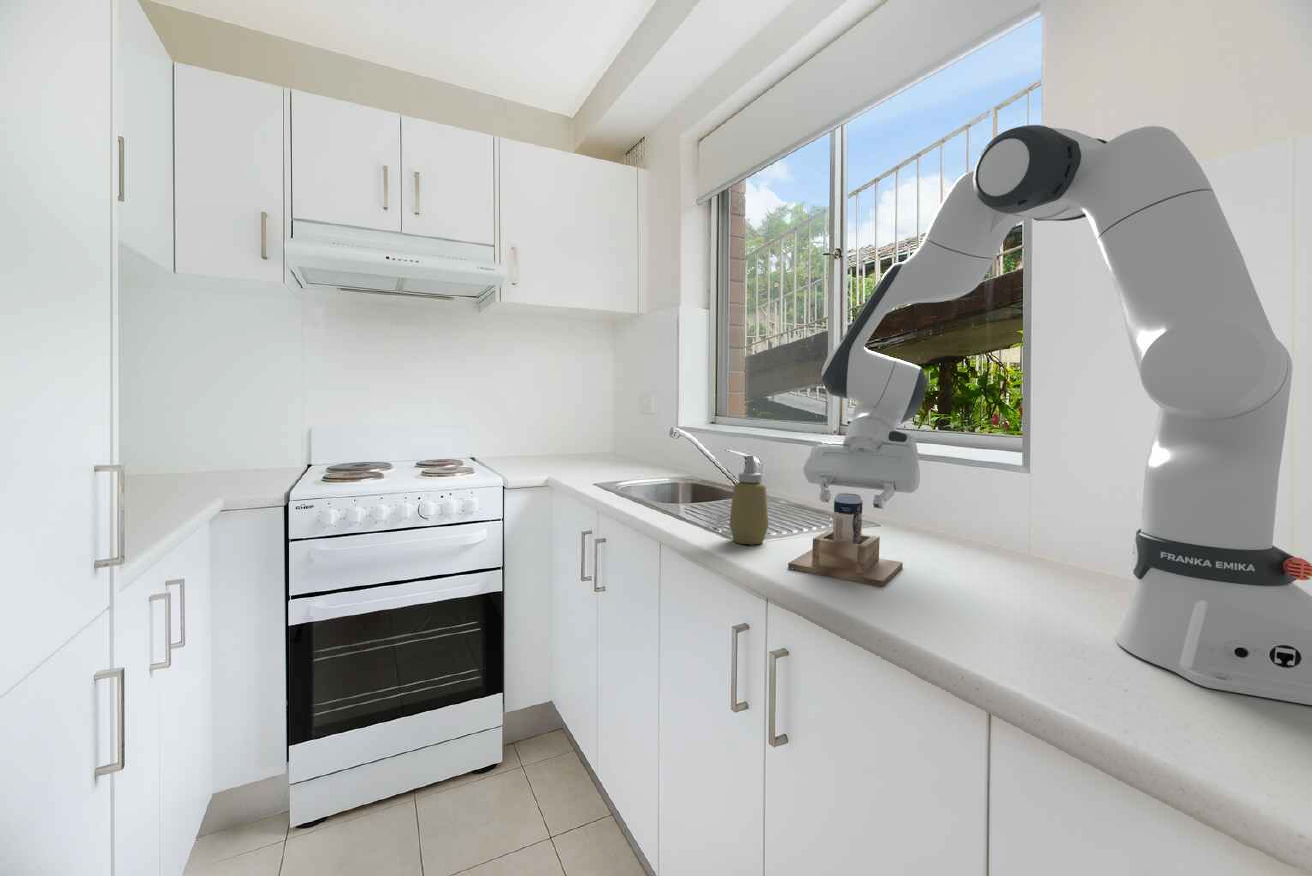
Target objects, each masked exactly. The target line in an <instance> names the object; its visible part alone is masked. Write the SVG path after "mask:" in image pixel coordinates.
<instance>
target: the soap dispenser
mask: <svg viewBox="0 0 1312 876" xmlns="http://www.w3.org/2000/svg"><path fill="white" fill-rule="evenodd" d="M745 461H746V462H745V465H744V469H743V472H739V473H738V480H737V481H738V482H736V483H735V484H734V485H733V491H732V499H731V500H732V501H731V506H730V508H731V509H730V515H729V528H730V532H731V535H732V538H733V541H734V540H735V541H734V542H735V543H738V544H741V545H745V544H750V545H749V546H754V545H755V544H756V545H760V544H762V543H764V540H765V537H766V534H767V530H768V528H769V514H768V513H769V512H768V502H767V501H768V499H767V487H766V485H765V484H763V483H761V482H762V473H760V472H757V468H756V464H755V457H754V455H747V457H746V460H745Z"/></svg>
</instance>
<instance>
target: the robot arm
mask: <svg viewBox="0 0 1312 876" xmlns="http://www.w3.org/2000/svg"><path fill="white" fill-rule="evenodd" d="M1083 218H1087V220H1088V221H1089V223H1090V226H1091V228H1092V231H1093V234H1094V236H1095V239H1096V242H1097V244H1098V247H1099V249H1100V252H1101V255H1102V257H1103V259H1104V262H1105V265H1106V267H1107V270H1108V272H1109V274H1110V277H1111V280H1112V283H1113V285H1114V288H1115V291H1116V293H1117V296H1118V299H1119V302H1120V305H1121V310H1122V314H1123V318H1124V319H1123V320H1124V324H1125V327H1126V328H1125V329H1126V332H1127V335H1128V340H1129V343H1130V348H1131V350H1132V355H1133V357H1134V361H1135V364H1136V368H1137V371H1138V373H1139V377H1140V380H1141V381H1140V382H1141V384H1142V387H1143V389H1144V390H1145V393H1146V395H1148V396H1149V397H1148V398H1150V399H1151V400H1152V401H1153V402H1154V403H1155V404H1156V405H1158V412H1157V413H1158V414H1157V418H1156V423H1155V428H1154V432H1153V437H1152V442H1151V447H1150V450H1149V454H1148V458H1147V461H1146V464H1145V468H1144V481H1143V494H1142V497H1143V498H1142V507H1141V508H1142V509H1141V510H1142V511H1141V523H1140V524H1141V525H1140V528H1139V529H1138V530H1136V531H1135V532H1136V533H1135V539H1134V540H1133V549H1132V562H1131V563H1132V564H1131V565H1132V566H1131V568H1132V572H1133V575H1134V581H1133V587H1132V591H1131V595H1130V600H1129V603H1128V606H1127V610H1126V613H1125V616H1124V618H1123V621H1122V623H1121V625H1120V628H1119V629H1118V632H1117V633H1116V635H1115V640H1116V642H1117V644H1119V646H1120V647H1121V648H1123V649H1124V650H1126V651H1127V652H1129V653H1131V654H1132V655H1134V656H1136V657H1138V658H1140V659H1142V660H1144V661H1146V662H1149V663H1152V664H1154V665H1156V666H1158V667H1162V668H1165V669H1166V670H1169V671H1171V672H1174V673H1176V674H1178V675H1180V676H1181V677H1183V678H1185V679H1186V680H1189V681H1191V682H1192V683H1194V684H1197V685H1199V686H1202V687H1205V688H1208V689H1214V690H1219V691H1225V692H1231V693H1238V694H1243V695H1250V696H1256V697H1261V698H1266V699H1273V700H1279V701H1283V702H1285V701H1286V702H1291V703H1296V704H1297V703H1298V704H1303V705H1309V706H1312V595H1310V593H1308V592H1306V591H1305V590H1304V589H1302V588H1301V587H1300V586H1298V585H1297V584H1295V583H1294V582H1295V581H1297V580H1299V581H1308V580H1312V578H1311V577H1312V563H1311V562H1309V561H1308V560H1306V559H1304V558H1302V557H1296V556H1294V555H1292V554H1290V553H1288V552H1287V551H1284V550H1282V549H1281V548H1279V547H1276V546H1275V545H1273V540H1274V533H1275V532H1274V531H1275V520H1276V511H1277V498H1278V497H1277V496H1278V489H1279V488H1278V487H1279V486H1278V485H1279V478H1280V477H1279V476H1280V468H1281V463H1282V457H1283V456H1282V455H1283V450H1284V449H1283V447H1284V441H1285V435H1286V427H1287V419H1288V417H1287V416H1288V412H1289V411H1288V410H1289V402H1290V394H1291V387H1292V386H1291V385H1292V376H1293V359H1292V358H1291V355H1290V352H1289V351H1288V349H1287V348H1286V347H1285V345H1284V344H1283V342H1281V340H1279V339H1278V338H1277V337H1276V335H1275V333H1274V331H1273V329H1272V328H1273V327H1272V326H1271V324H1270V322H1269V319H1268V317H1267V314H1266V313H1265V310H1264V308H1263V305H1262V302H1261V300H1260V298H1259V294H1258V293H1257V290H1256V288H1255V285H1254V283H1253V280H1252V278H1251V275H1250V272H1249V270H1248V267H1247V265H1246V263H1245V259H1244V257H1243V254H1242V252H1241V250H1240V247H1239V245H1238V243H1237V241H1236V238H1235V237H1234V233H1233V231H1232V229H1231V227H1230V224H1229V223H1228V221H1227V218H1226V216H1225V214H1224V211H1223V210H1222V206H1221V205H1220V203H1219V200H1218V198H1217V196H1216V193H1215V192H1214V190H1213V188H1212V185H1211V183H1210V181H1209V179H1208V177H1207V176H1206V174H1205V172H1204V169H1203V168H1202V167H1201V165H1200V164H1199V162H1198V161H1197V159H1196V158H1195V156H1194V155H1193V154H1192V152H1191V151H1190V149H1189V148H1188V147H1187V146H1186V144H1185V143H1184V142H1183V141H1182V140H1181V139H1180V137H1179V136H1178V135H1177V134H1176V133H1175V132H1174V131H1173V130H1171V129H1169V128H1167V127H1164V126H1157V125H1149V126H1144V127H1139V128H1138V127H1137V128H1134V129H1132V130H1128V131H1126V132H1124V133H1122V134H1119V135H1118V136H1116V137H1114V138H1112V139H1111V140H1109V141H1107V140H1105V139H1101V138H1094V137H1092V136H1090V135H1086V134H1083V133H1081V132H1079V131H1076V130H1072V129H1067V128H1060V127H1049V126H1045V125H1040V124H1031V125H1030V124H1028V125H1022V126H1017V127H1013V128H1010V129H1008V130H1005V131H1003V132H1001V133H999V134H998V135H996V137H994V138H992V140H991V141H990V142H989V143H987V145H986V146H985V147H984V149H983V150H982V151H981V153H980V155H979V157H978V158H977V161H976V163H975V166H974V170H972V171H969V172H967V173H964V174H963V175H961V176H960V177H959V178H958V179H957V180H956V181H955V183H954V184H953V185H952V186H951V188H950V190H949V192H948V193H947V194H946V196H945V197H944V199H943V200H942V203H940V206H939V208H938V209H937V211H936V213H935V214H934V217H933V219H932V221H931V222H930V224H929V226H928V229H927V231H926V233H925V235H924V237H923V239H922V242H921V243H920V244H919V246H918V248H916V250H915V251H914V252H913V253H912V254H911V255H910V256H909V257H907V259H905V260H904V261H900V262H895V263H893V264H892V265H890V267H889V268H888V269H887V270H886V271H885V272H884V274H883V275H882V277H881V278H880V279H879V281H878V282H877V284H876V285H875V286H874V288H873V290H872V291H871V293H870V294H869V295H868V297H867V299H866V301H865V302H864V303H863V306H862V307H861V309H860V310H859V311H858V313H857V315H856V316H855V317H854V320H853V321H852V323H851V324H850V326H849V328H848V329H847V330H846V332H845V334H844V336H843V337H842V338H841V340H840V341H839V343H838V344H837V345H836V347H835V348H834V349H833V350H832V351H831V352H830V353H829V355H828V356H827V358H826V359H825V362H824V364H823V367H822V370H821V377H820V379H821V382H822V385H823V386H824V388H825V389H826V391H827V392H828V394H829V395H830V396H835V397H839V398H842V399H845V400H846V399H849V400H852V401H854V402H856V403H855V405H854V409H853V413H852V416H853V418H852V420H851V421H850V422H849V424H848V426H847V430H846V433H845V436H844V438H843V442H828V441H825V442H824V441H823V442H821V443H820V444H819V443H817V444H816V445H813V446H812V448H811V450H810V453H809V456H808V457H807V459H806V461H805V463H804V466H803V471H802V472H803V474H804V478H805V479H806V481H807V482H808V483H809V484H815V485H819V486H820V494H819V501H820V502H822V503H830V502H831V499H832V494H831V491H830V490H829V488H830V486H837V487H846V488H856V489H869V490H876V491H882V492H881V493H880V494H879V495H878V494H875V495H874V499H873V501H872V504H873V508H874V509H881V510H884V509H885V508H884V507H885V503H887V501H889V500H890V499H891V498H893V497H894V496H895V493H896V492H897V493H906V494H907V493H909V494H913V493H914V492H916V491H917V490H919V486H920V481H921V480H920V477H921V476H920V475H921V471H920V464H919V451H918V445H917V442H916V439H915V437H914V435H912V434H910V433H905V432H902V431H899V430H897V428H898V426H900V424H903V423H905V422H907V421H909V420H910V419H912V418H914V417H915V416H916V415H917V413H919V411H920V409H921V407H922V404H923V401H924V399H925V395H926V390H927V386H928V379H927V375H926V373H925V371H924V370H923V368H922V367H921V366H918V365H916V364H913V363H911V362H907V361H904V360H901V359H898V358H897V357H895V358H894V357H890V356H889V355H885V354H881V353H878V352H876V351H872V350H869V349H867V348H866V347H865V346H866V344H867V342H868V341H869V339H870V338H871V336H872V335H873V334H874V332H875V330H876V329H877V327H878V326H879V325H880V323H881V321H882V320H883V318H884V317H885V316H886V314H887V313H889V312H890V311H891V310H893V309H895V308H897V307H901V306H904V305H912V304H923V303H925V304H926V303H927V304H929V303H941V302H947V301H952V300H955V299H958V298H960V297H963V296H967V294H969V293H971V292H972V291H974V290H976V288H977V287H978V286H979V285H980V284H981V283H982V282H983V280H984V278H985V277H986V275H987V273H988V272H989V270H990V269H991V267H992V265H993V263H994V262H995V259H996V256H997V255H998V253H999V252H1000V249H1001V247H1002V245H1003V243H1004V241H1005V240H1006V238H1007V236H1008V234H1009V233H1010V232H1011V230H1012V229H1013V228H1014V227H1015V226H1016V225H1017V224H1018V223H1021V222H1022V221H1024V220H1028V219H1033V220H1034V221H1037V222H1039V221H1040V222H1041V221H1044V222H1045V221H1049V222H1051V221H1053V222H1054V221H1057V222H1065V221H1066V222H1067V221H1068V222H1069V221H1074V220H1080V219H1083Z"/></svg>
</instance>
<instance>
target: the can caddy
mask: <svg viewBox="0 0 1312 876" xmlns="http://www.w3.org/2000/svg"><path fill="white" fill-rule="evenodd" d="M880 538H881V537H880V536H879V535H871V534H865V533H861V544H855V543H849V542H842V541H836V540H833V529H829V530H826V531H824V532H823V533H820V534H819V535H817V536H815V537H813V538H812V549H810V550H809V551H807V552H805V553H804V554H802V555H800V556H798V557H796V558H794V559H793V560H791V561H789V562H788V563H787V569H788V568H793V569H797V570H796V571H798V570H802V571H801V572H803V571H805V572H804V573H808V572H809V574H813V575H814V574H815V575H818V574H821V575H820V576H823V575H824V577H829V578H834V579H840V580H843V581H849V582H856V583H860V584H864V585H872V586H875V587H880V588H883V587H885V585H887V584H888V583H889V582H890V581H891V580H892V579H893V578H894V576H896V574H898V573H899V572H900V571H901V570H902V569H903V562H902V561H897V560H890V559H885V558H880V542H881V540H880Z"/></svg>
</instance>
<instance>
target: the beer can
mask: <svg viewBox="0 0 1312 876" xmlns="http://www.w3.org/2000/svg"><path fill="white" fill-rule="evenodd" d="M863 504H864V503H863V500H862V497H861V496H860V495H859V494H857V493H848V492H845V493H844V492H843V493H842V492H841V493H840V492H839V493H837V494H836V496H835V497H834V499H833V526H832V530H833V540H836V541H842V542H849V543H855V544H861V534H862V529H863V527H862V526H863Z"/></svg>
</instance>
